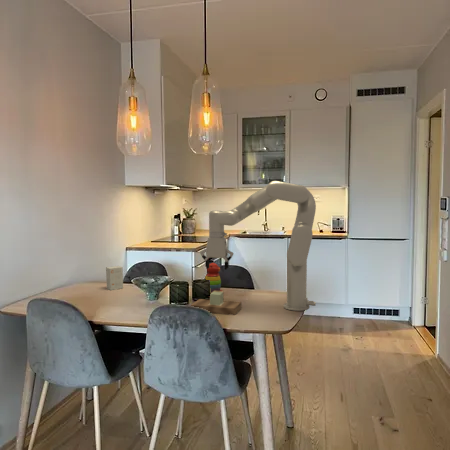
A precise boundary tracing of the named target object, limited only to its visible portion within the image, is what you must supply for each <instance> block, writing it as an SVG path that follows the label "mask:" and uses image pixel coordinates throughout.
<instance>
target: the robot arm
mask: <svg viewBox="0 0 450 450" xmlns="http://www.w3.org/2000/svg"><path fill="white" fill-rule="evenodd" d="M277 200H278V201H285V202H289V203H296V204H297V211H296V217H295V220H294V226H293V228H292V230H291V236H290V240H289V244H288V248H287V251H286V302H285V303H284V304H283V308H284V309H286V310H289V311H293V312H294V311H295V312H297V311H298V312H304V311H307V310H309V309H310V306H311V307H312V306H313V307H315V306H316V301H314V300H309V298H308V297H307V277H308V276H307V272H308V270H307V269H308V268H307V267H308V265H307V264H308V256H309V253H310V248H311V245H312V240H313V226H314V221H315V216H316V210H317V208H316V207H317V204H316V199H315V197H314V195H313V194H312V192H311V191H310V190H309V189H308V188H307V187H306V186H304V185H302V184H296V183H290V182H284V181H279V180H272V181H270V182H268V184H267V185H265V186H263V187H262V188H261V189H259V190H257V191H256V192H254V193H253V194H251V195H250V196H248V197H247V199H245V200H244V201H243V202H242V203H240V204H239V205H237V206H235V207H234V208H233V209H231V210H227V211H224V210H212V211H211V210H210V211H209V213H208V229H209V230H208V232H209V233H208V237H207V241H206V249H204V250H201V251H200V255H201V258H202V259H203V261H204V262H205V264H204V265H205V269H206V270H207V269H208V268H209V264H210V260H209V259H211V258H212V259H213V258H214V259H217V258H218V259H223V260H224V270H228V268H229V261H230V260H231V259H232V258H233V256H234V252H232V251H231V250H229V249H228V243H227V238H226V236H227V235H228V233H226V232H225V226H229V227H230V226H232V227H233V226H235V225H237V224H238V223H240V222H242V221H243V220H245V219H246V218H248V217H250V216H251V215H253V214H255V213H258V212H259V211H261V210H262V209H264V208H266V207H267V206H269V205H270V204H272V203H273V202H274V203H275V201H277ZM205 254H206V255H205ZM228 254H229V256H228Z"/></svg>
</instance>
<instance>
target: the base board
mask: <svg viewBox="0 0 450 450" xmlns="http://www.w3.org/2000/svg"><path fill="white" fill-rule="evenodd" d="M191 306H194V307H199V308H203V309H206V310H208V311H210V312H212V313H211V314H217V313H221V315H229V314H233V315H232V316H235V315H236V314H237V313H238V312H239V311H240V310H241V309H242V301H233V300H232V301H231V300H224V301H223V303H222V304H221V305H213V304H210V299H204V298H198V299H197V300H196V301H194V302H193V303H192V304H190V307H191Z"/></svg>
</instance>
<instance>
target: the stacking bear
mask: <svg viewBox="0 0 450 450" xmlns="http://www.w3.org/2000/svg"><path fill="white" fill-rule="evenodd" d="M206 271H207V273H206V275H205V276H204V277H205V278H204V280H205V279H206V280H210V288H211V293H212V292H213V291H224V290H222V289H221V287H222V279H221V275H220V272H221V267H220V266H219V265H218V264H217V263H215V262H211V263H210V262H209V268H208V269H206Z"/></svg>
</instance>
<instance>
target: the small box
mask: <svg viewBox="0 0 450 450" xmlns="http://www.w3.org/2000/svg"><path fill="white" fill-rule="evenodd" d="M105 274H106V276H105V277H106V280H105V281H106V289H107V290H109V291H114V290H119V289H124V273H123V266H121V265H115V266H107V267H105Z"/></svg>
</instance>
